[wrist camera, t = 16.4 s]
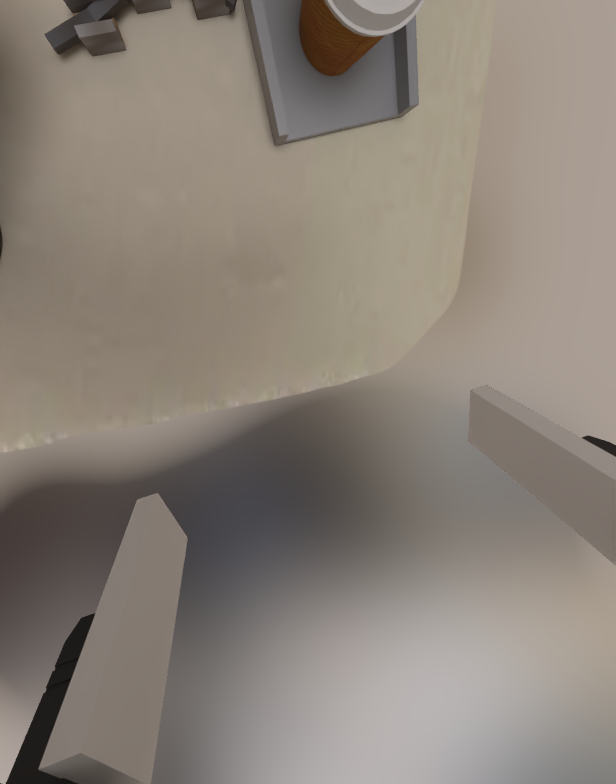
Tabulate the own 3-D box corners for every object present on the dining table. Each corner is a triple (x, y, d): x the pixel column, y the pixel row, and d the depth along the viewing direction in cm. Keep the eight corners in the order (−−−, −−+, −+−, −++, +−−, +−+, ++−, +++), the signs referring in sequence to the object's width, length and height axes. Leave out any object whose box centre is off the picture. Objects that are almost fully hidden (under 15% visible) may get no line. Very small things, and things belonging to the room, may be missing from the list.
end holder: (275, 145, 33) (279, 136, 30) (226, -73, 26) (226, -116, 23) (401, 116, 34) (418, 104, 31) (390, -99, 27) (410, -143, 24)
